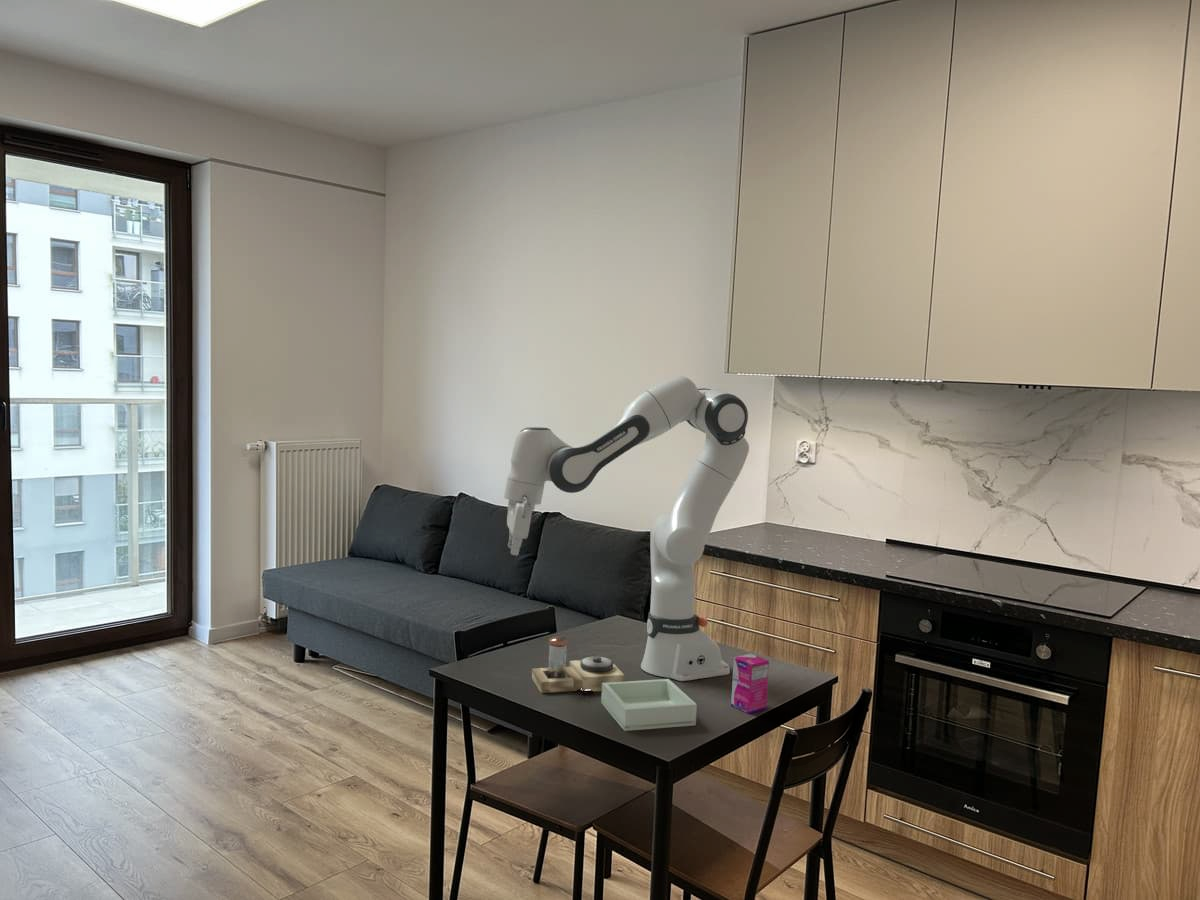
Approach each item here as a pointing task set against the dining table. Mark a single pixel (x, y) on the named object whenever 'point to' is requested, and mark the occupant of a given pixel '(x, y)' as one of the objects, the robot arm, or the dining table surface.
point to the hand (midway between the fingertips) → (512, 551)
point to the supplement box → (750, 683)
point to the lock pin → (557, 657)
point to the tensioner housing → (579, 676)
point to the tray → (648, 704)
